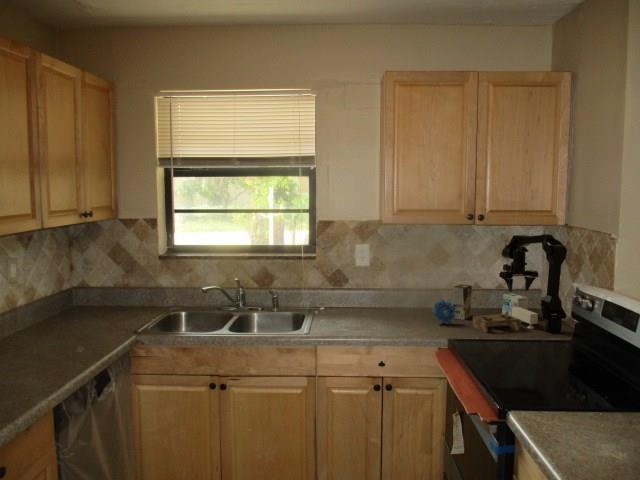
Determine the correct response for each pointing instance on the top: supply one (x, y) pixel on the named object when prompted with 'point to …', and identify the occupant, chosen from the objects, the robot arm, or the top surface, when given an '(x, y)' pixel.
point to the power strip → (525, 316)
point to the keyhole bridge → (495, 321)
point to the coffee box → (462, 301)
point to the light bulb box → (513, 302)
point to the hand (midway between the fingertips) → (518, 291)
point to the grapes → (444, 311)
